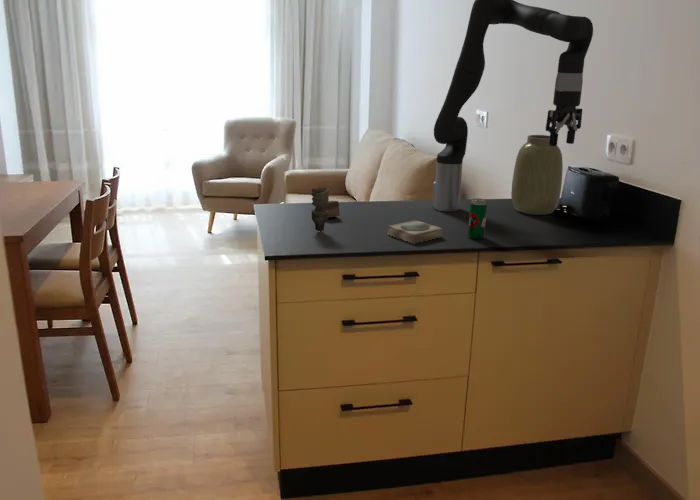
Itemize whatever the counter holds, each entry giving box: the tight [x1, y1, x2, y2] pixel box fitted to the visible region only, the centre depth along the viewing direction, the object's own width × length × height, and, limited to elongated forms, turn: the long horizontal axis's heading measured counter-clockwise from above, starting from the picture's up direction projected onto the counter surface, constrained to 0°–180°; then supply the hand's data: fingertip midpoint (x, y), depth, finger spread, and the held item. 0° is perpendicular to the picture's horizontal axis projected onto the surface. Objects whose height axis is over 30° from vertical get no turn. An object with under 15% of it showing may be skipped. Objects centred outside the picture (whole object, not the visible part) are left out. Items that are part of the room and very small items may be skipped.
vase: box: [510, 134, 564, 216], centre depth 226 cm, size 17×17×27 cm
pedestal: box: [387, 219, 443, 245], centre depth 196 cm, size 12×12×3 cm
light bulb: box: [311, 185, 330, 233], centre depth 196 cm, size 6×6×15 cm
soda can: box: [467, 198, 488, 240], centre depth 194 cm, size 5×5×12 cm
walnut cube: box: [325, 200, 341, 218], centre depth 215 cm, size 5×5×5 cm
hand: (561, 144), depth 188 cm, fingers open, 8 cm apart
